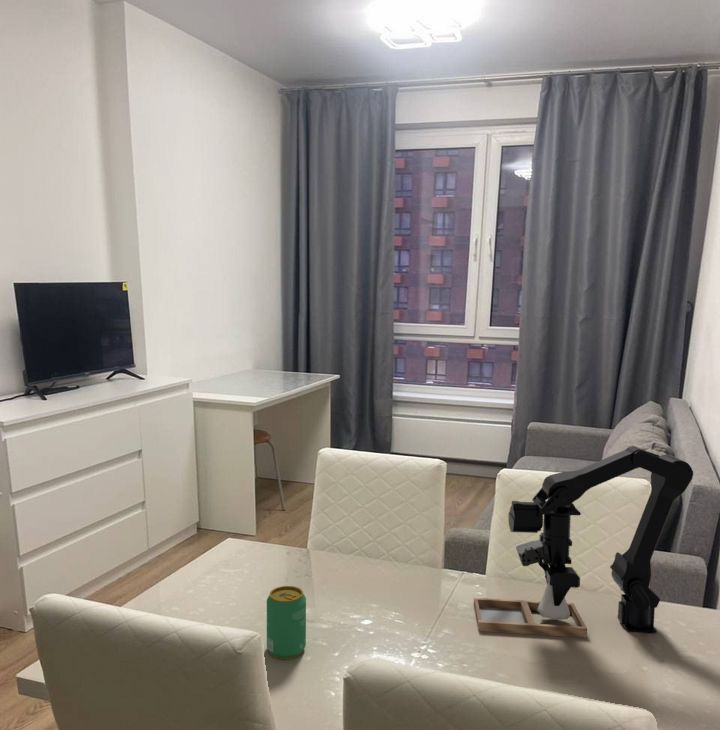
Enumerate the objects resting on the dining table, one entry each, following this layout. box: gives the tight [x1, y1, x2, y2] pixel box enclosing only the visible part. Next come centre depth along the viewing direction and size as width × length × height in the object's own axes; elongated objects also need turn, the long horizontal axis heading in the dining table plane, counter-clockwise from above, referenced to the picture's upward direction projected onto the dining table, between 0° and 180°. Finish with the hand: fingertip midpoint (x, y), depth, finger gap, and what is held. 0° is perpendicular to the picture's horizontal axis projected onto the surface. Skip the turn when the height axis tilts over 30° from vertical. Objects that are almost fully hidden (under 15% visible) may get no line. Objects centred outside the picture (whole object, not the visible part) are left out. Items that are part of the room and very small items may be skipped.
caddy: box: [473, 597, 588, 638], centre depth 136 cm, size 23×12×2 cm, turn 84°
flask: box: [536, 583, 571, 621], centre depth 135 cm, size 7×7×10 cm
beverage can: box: [266, 585, 307, 660], centre depth 122 cm, size 8×8×12 cm
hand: (554, 600), depth 135 cm, fingers closed on flask, 5 cm apart
